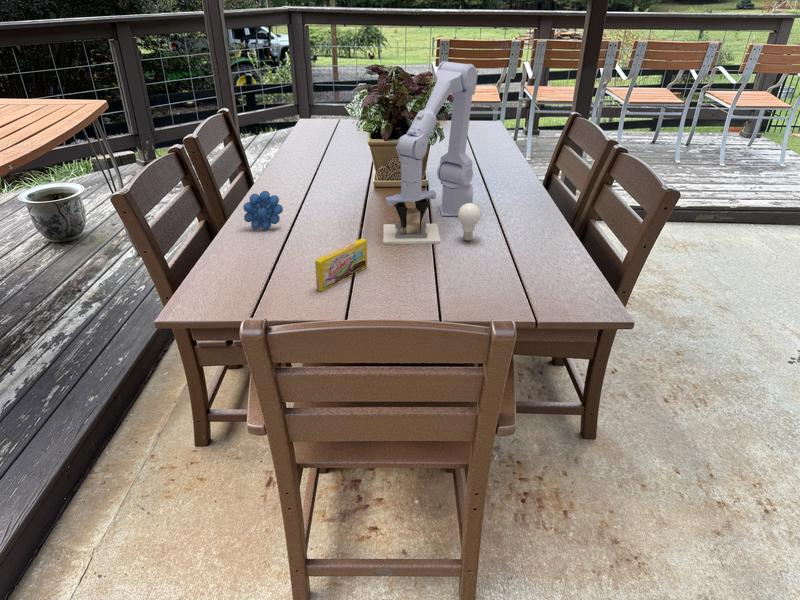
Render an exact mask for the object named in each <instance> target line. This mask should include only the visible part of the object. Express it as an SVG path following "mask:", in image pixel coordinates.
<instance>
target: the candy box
mask: <svg viewBox="0 0 800 600" xmlns="http://www.w3.org/2000/svg"><path fill="white" fill-rule="evenodd" d="M314 264H315V265H314V267H315V279H316V280H315V282H316V283H315V284H316V285H315V286H316V290H317V291H319V292H323V291H326V290H328V289H329V288H331V287H333V286H335V285H337V284H338V283H337V282H339V281H341V280H343V279H345V278H347V277H348V278H350V277H351V276H350V275H352V276H354V275H355V274H354V273H356V272H358V271H360V270H362V269H363V268H365V269H367V268H368V240H367V239H365V238H362V237H361V238H360V239H357V240H355V241H353V242H351V243H349V244H347V245H343V246H342V247H340V248H338V249H336V250H333V251H331V252H329V253H327V254H325V255H323V256H320V257H318V258H317V259H315V260H314ZM366 267H367V268H366ZM362 271H363V270H362ZM360 272H361V271H360ZM358 273H359V272H358ZM353 274H354V275H353ZM356 274H357V273H356ZM349 276H350V277H349ZM348 278H347V279H348ZM345 280H346V279H345ZM343 281H344V280H343ZM341 282H342V281H341ZM336 283H337V284H336ZM339 283H340V282H339ZM334 284H335V285H334ZM332 285H333V286H332ZM330 286H331V287H330Z"/></svg>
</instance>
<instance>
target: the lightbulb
mask: <svg viewBox="0 0 800 600" xmlns="http://www.w3.org/2000/svg"><path fill="white" fill-rule="evenodd" d="M457 217H458V220H459V222H460V224H461V226H462V230H463V236H462V239H463V240H465V241H467V242H469V241H471V240H473V235H474V231H475V227H476V225H477V224H478V223H479V221H480V220H481V217H482V212H481V208H480V207H479V206H478V205H477V204H475V203H473V202H472V203H466V204H464V205H462V206H461V207H460V209H459V211H458V216H457Z"/></svg>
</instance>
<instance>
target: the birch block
mask: <svg viewBox="0 0 800 600" xmlns="http://www.w3.org/2000/svg"><path fill="white" fill-rule="evenodd" d="M407 208H408V209H407V215H406V228H403V227H402V229H403V230H404V231H405V232H406V233H415V232H420V212H419V211H418V210H417V209H416V206H413V207H407Z"/></svg>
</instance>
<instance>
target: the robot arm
mask: <svg viewBox="0 0 800 600" xmlns="http://www.w3.org/2000/svg"><path fill="white" fill-rule="evenodd" d="M434 73H435V75H434V78H435V81H434V82H435V85H434V87H433V88H432V91H431V94H430V95H429V98H428V100H427V103H426V105H425V107H424V109H421V110H418V112H417V114H416V115H415V117H414V119H413V121H412V123H411V125H410V126H409V128H408V130H407V132H406V134H403V135H402V136H400V137H399V138H398V141H397V145H396V146H395V151H396V154H397V155H398V161H399V163H400V193H397V194H394V195H391V196H387V197H385V205H386V206H387V207H392V206H393V205H394V207H395V210H396V211H397V215H398V218H399V220H400V223H401V226H402V227H403V228H406V215H407V209H408V208H409V207H407V206H406V204H407V203H414V204H415V206H414V207H415V208H416V209H417V210H418V211H419V212H420V225H421V223H423V219H424V215H425V213H426V212H427V209H428V208H429V206H430V202H429V201H428V200H436V199H437V192H436V191H435V190H422V189H423V188H422V187H423V186H422V185H423V184H422V183H423V158H424V157H425V155H426V153H427V151H428V145H429V142H430V140H429V138H430V137H431V134H432V133H433V130H434V129H435V127H436V125H437V122H438V121H437V115H438V113H439V112H440V110H441V108H442V106H443V105H444V103H446V101H447V99H448V98H449V96H450V95H451V96H452V97H453V101H452V110H451V111H452V112H451V121H450V128H449V129H450V131H449V139H448V147H447V148H448V149H447V153H444V155H442V156H440V159H439V163H438V164H439V165H438V167H437V170H436V171H437V172H436V176H437V178H438V180H439V181H440V184H441V185H442V194H441V195H442V197H441V204H440V205H439V210H440V214H441V217H458V211H459V209H460V207H461V206H462V205H464V204H466V203H473V200H474V198H473V196H474V188H473V184H472V183H471V182H472V180H473V177H474V171H473V170H474V169H473V160H472V159H471V158H470V157H469V155H467V153H466V150H467V143H468V135H469V134H468V133H469V126H470V116H471V109H472V101H473V100H472V99H473V96H474V95H475V94H476V87H477V80H478V71H477V69H476V66H474V64H472V63H461V62H452V61H446V60H443V61H441V62H440V63H439V65H438V66H437V68H436V70H435V72H434ZM405 203H406V204H405Z"/></svg>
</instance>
